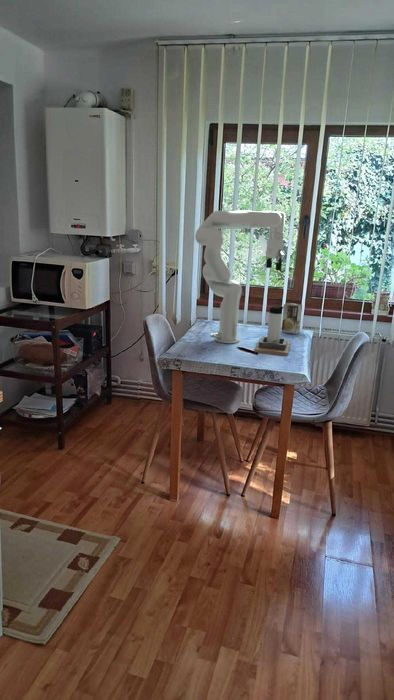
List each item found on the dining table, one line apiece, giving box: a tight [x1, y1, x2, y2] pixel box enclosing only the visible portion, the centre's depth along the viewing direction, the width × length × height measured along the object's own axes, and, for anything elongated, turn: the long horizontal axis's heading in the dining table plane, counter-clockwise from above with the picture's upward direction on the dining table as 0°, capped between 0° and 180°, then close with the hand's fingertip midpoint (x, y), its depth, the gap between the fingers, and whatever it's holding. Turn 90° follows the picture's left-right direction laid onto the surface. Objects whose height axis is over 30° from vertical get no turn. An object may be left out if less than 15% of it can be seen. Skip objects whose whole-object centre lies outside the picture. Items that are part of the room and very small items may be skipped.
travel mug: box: [266, 306, 283, 344], centre depth 241 cm, size 6×7×20 cm
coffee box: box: [280, 302, 303, 335], centre depth 278 cm, size 9×6×16 cm
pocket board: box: [253, 335, 291, 357], centre depth 244 cm, size 22×16×4 cm
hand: (273, 268), depth 261 cm, fingers open, 9 cm apart
